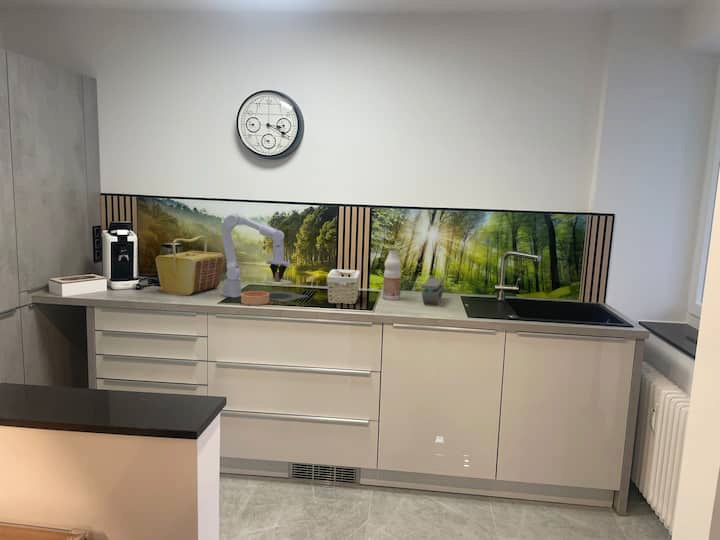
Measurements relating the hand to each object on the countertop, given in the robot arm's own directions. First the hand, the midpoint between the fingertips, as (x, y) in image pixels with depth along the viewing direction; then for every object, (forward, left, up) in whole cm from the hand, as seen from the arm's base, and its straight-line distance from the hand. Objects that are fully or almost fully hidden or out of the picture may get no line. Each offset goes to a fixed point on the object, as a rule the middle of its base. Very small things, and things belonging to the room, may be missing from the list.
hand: (278, 278), depth 310 cm
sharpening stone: (+69, +47, -10) cm, 84 cm away
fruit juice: (+48, +39, -10) cm, 63 cm away
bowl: (+1, -18, -10) cm, 21 cm away
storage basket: (+30, +19, -10) cm, 37 cm away
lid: (0, -1, -2) cm, 2 cm away
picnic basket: (-48, -20, -10) cm, 52 cm away
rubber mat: (+1, +1, -10) cm, 10 cm away
